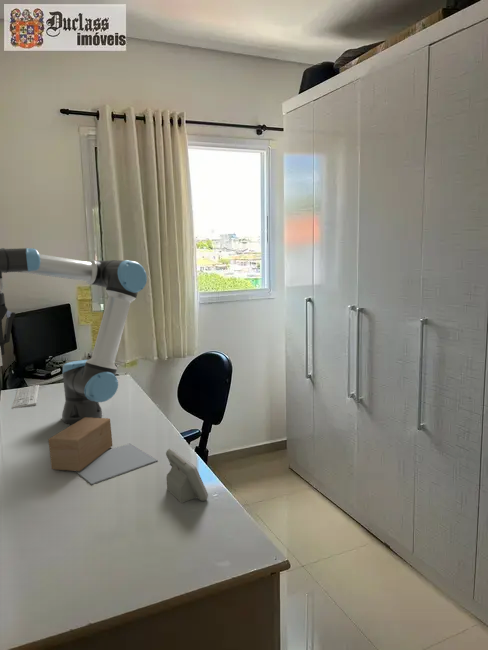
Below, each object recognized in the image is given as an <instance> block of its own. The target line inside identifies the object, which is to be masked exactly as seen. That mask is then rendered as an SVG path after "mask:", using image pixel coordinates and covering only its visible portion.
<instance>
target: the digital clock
mask: <svg viewBox="0 0 488 650" xmlns="http://www.w3.org/2000/svg"><path fill="white" fill-rule="evenodd" d="M165 456H166V458H167V460H168V462H169V466H171V469H170V470H169V472H168V473H167V474H166V488H167V489H166V490H167V491H169V493H170V494H172V496H174V498H175V499H177V500H178V501H179V503H185V502H187V501H191V500H194V499H198V500H200V501H201V502H202V501H204V502H205V501H207V500H208V498H209V493H208V491H207V488H206V487H205V484H204V481H203V479H202V477H201V475H200V473H199V470H198V468H197V467H196V466H195V465H194V464H193V463H191V461H189V460H188V459H186V458H185V456H183V455H182V454H181V453H179V452H178V451H176V450H175V449H174V448H168V449H167V450H166V452H165Z"/></svg>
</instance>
